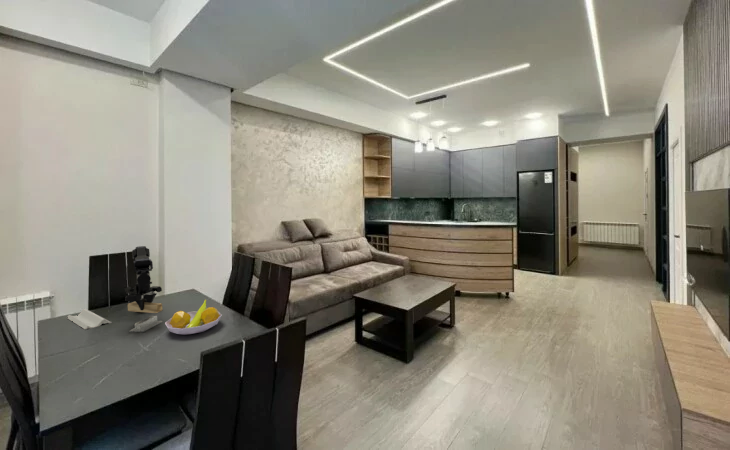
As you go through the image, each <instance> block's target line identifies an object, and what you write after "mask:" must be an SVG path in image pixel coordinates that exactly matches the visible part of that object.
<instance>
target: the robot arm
mask: <svg viewBox="0 0 730 450" xmlns="http://www.w3.org/2000/svg"><path fill="white" fill-rule="evenodd" d="M131 253H132V259H133V271H134V272H133V273H135V274H136V283H135V284H134V286H133V287H131V286H126V287H125V288H124V292H125V294H126V296H125V302H136V303H137V304H138V306H139V308H140V309H141V310H143V309H144V304H145V302H148V303H153V301H154V300H155V297H156V295H158V293H161V292H162V291H163V289H162V287H161V286H157V285H156V286H155V285H152V284H153V281H151V275H150V274H151V273H150V272H153V268H154V267H153V261H152V259H150V257H151V256H150V248H147V246H143V245H142V246H141V245H139V246H136V247H135V248H134V249H132V251H131ZM151 285H152V286H151Z"/></svg>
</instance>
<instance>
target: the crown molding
mask: <svg viewBox="0 0 730 450" xmlns="http://www.w3.org/2000/svg"><path fill="white" fill-rule="evenodd" d="M77 315H78V316H77ZM77 315H71V314H68V315H67V317H68V318H67V319H68V320H69V321H71V322H72V321H73V323H74V324H75V325H77V326H79V327H80V328H82V329H83V330H88V329H93V328H97V327H100V326H101V325H102V324H103V325H104V324H105V325H106V324H112V321H109V320H108V319H106V318H105V317H102V316H101V315H98V314H96V313H94V312H93V311H91V310H89V309H87V308H84V309H82V310H81V311H80V313H79V314H77Z"/></svg>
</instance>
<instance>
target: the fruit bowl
mask: <svg viewBox="0 0 730 450" xmlns="http://www.w3.org/2000/svg"><path fill="white" fill-rule="evenodd" d="M222 316H223V314H222V313H221V312H220V311H219V310H218V308H216V307H213V306H211V307H210V306H209V307H207V299H204V301H203V303H202V305H201V306H200V307H199V308H198V310H195V311H187V312H186V311H183V310H179V311H176V312H175V313H174V314H173V315H172V317H170V318H169V319H168V320H167V321H165V323H164V324H165V326H166V328H167V329H168V332H171V333H173V334H177V335H185V336H187V335H192V334H193V335H194V334H197V333H204V332H205V331H207V330H209V329H211V328H213V327H214V326H216V325H218V323H219V321H220V320H221V318H222Z"/></svg>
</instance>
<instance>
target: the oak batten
mask: <svg viewBox="0 0 730 450" xmlns="http://www.w3.org/2000/svg"><path fill="white" fill-rule="evenodd" d="M163 310H164V309H163V303H160V302H152V303H148V302H145V304H144V309H143V310H141V309H140V308H139V306H138V304H137V303H136V302H135V301H131V302H130V303H127V311H128V312H133V313H134V312H136V313H150V314H151V313H152V314H157V313H160V312H162V311H163Z"/></svg>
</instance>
